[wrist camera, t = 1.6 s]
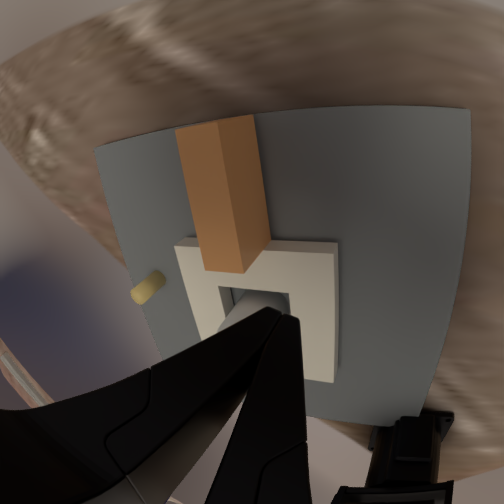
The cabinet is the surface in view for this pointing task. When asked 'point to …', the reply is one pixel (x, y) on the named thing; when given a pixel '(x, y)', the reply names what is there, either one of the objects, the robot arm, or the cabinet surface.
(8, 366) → the envelope
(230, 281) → the brown white angular piece
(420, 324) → the slate board
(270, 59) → the cabinet surface
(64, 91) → the cabinet surface
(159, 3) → the cabinet surface
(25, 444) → the robot arm
